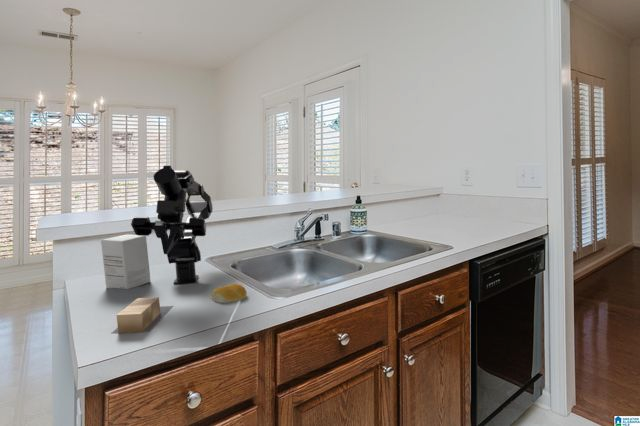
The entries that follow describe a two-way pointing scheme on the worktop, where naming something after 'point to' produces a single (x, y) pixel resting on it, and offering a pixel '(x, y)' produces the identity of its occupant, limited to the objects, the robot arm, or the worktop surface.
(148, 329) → the mat
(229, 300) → the bread roll
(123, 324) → the oak block
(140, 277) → the supplement box
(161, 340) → the worktop surface
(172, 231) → the robot arm
